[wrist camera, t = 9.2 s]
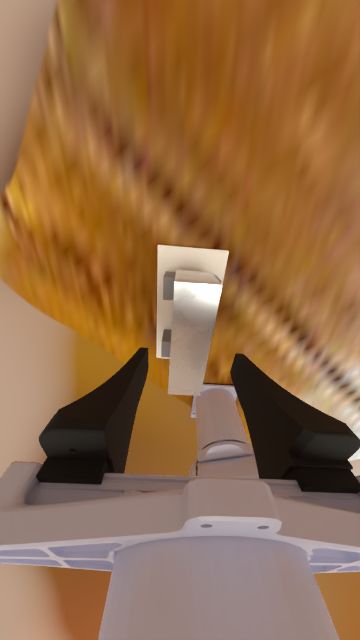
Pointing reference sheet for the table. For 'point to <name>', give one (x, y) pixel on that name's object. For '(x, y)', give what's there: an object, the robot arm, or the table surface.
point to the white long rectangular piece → (192, 329)
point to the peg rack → (166, 270)
